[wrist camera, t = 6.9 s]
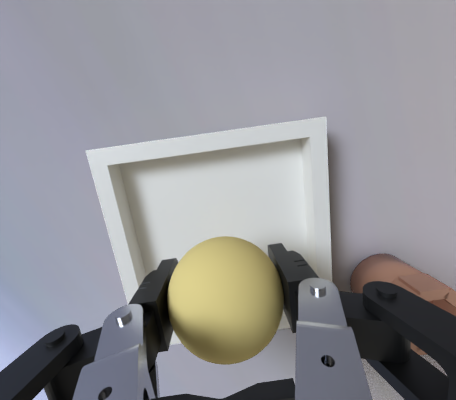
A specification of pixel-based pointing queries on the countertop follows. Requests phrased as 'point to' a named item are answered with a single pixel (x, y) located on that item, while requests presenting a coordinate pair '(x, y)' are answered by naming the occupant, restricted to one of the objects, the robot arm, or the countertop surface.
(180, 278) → the ball
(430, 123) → the countertop surface
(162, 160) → the tray
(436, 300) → the cup
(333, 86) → the countertop surface
